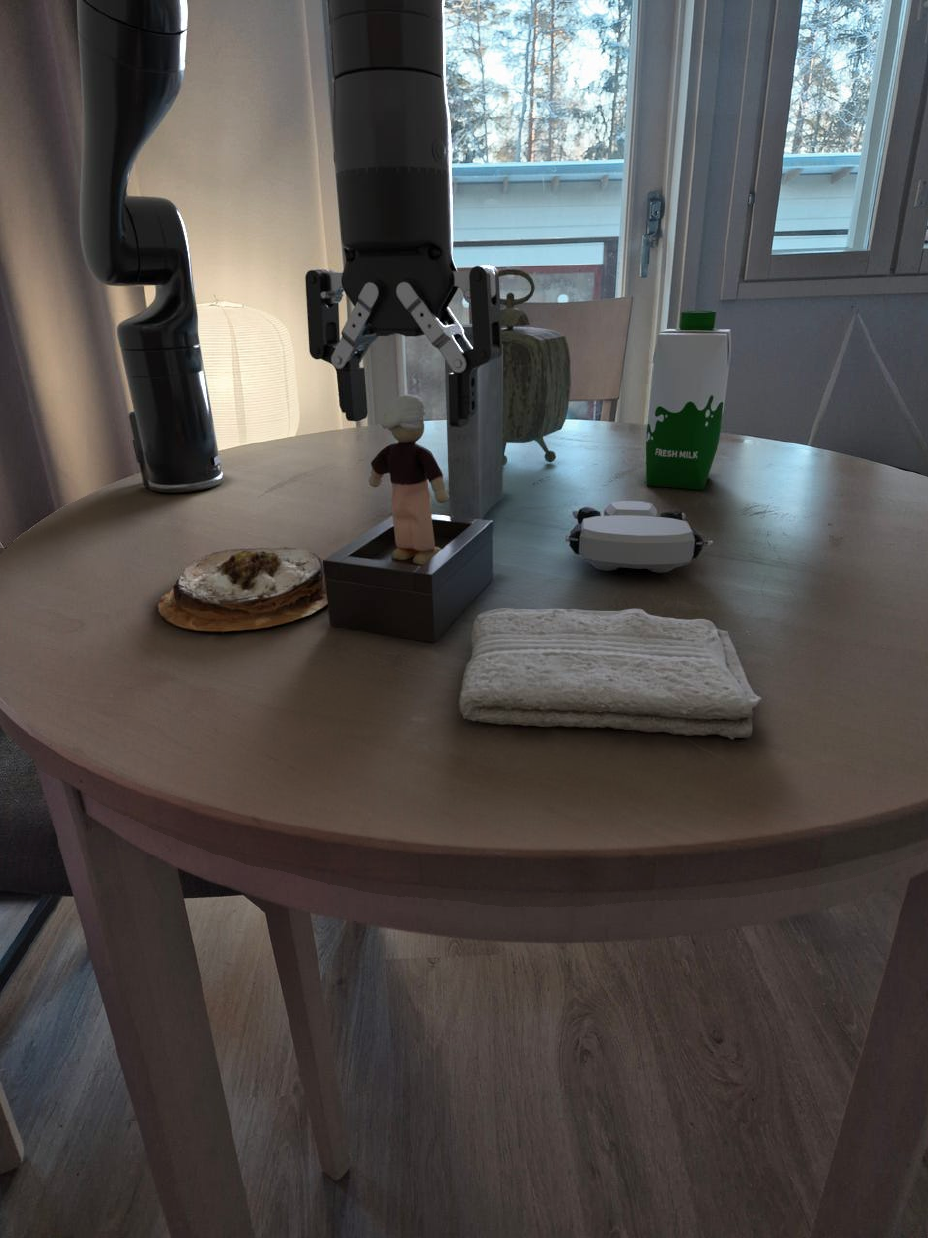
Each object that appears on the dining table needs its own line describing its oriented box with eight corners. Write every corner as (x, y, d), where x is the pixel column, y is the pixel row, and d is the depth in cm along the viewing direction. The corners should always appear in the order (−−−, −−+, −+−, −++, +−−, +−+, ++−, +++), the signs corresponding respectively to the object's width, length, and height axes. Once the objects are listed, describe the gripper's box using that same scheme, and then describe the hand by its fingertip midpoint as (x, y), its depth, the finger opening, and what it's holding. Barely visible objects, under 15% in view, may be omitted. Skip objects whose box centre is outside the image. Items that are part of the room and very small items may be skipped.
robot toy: (567, 537, 76) (563, 582, 62) (569, 495, 74) (565, 531, 61) (686, 541, 74) (709, 588, 60) (691, 497, 72) (715, 536, 59)
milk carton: (716, 475, 94) (738, 310, 86) (710, 493, 87) (734, 314, 78) (648, 470, 97) (663, 310, 89) (637, 487, 90) (652, 314, 81)
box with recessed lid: (329, 625, 56) (322, 560, 54) (402, 567, 67) (399, 510, 65) (434, 643, 53) (431, 574, 51) (493, 579, 64) (493, 520, 61)
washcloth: (765, 745, 41) (774, 699, 40) (454, 731, 43) (453, 687, 41) (720, 647, 52) (726, 608, 50) (473, 639, 53) (472, 602, 52)
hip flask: (476, 537, 74) (473, 329, 65) (438, 535, 75) (430, 329, 66) (504, 495, 88) (505, 318, 79) (472, 493, 89) (469, 319, 80)
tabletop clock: (567, 461, 103) (575, 267, 92) (538, 476, 96) (543, 268, 85) (481, 451, 110) (479, 269, 99) (448, 463, 103) (442, 270, 92)
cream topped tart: (210, 560, 69) (203, 519, 68) (359, 566, 67) (356, 524, 65) (123, 628, 56) (111, 579, 54) (305, 638, 54) (299, 587, 52)
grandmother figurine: (465, 554, 58) (462, 393, 53) (444, 570, 55) (438, 401, 50) (384, 542, 61) (373, 388, 56) (360, 557, 58) (345, 396, 53)
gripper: (516, 167, 47) (513, 418, 54) (329, 180, 52) (349, 409, 59) (475, 152, 41) (478, 438, 48) (267, 169, 46) (298, 426, 53)
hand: (406, 422), depth 54 cm, fingers open, 8 cm apart
